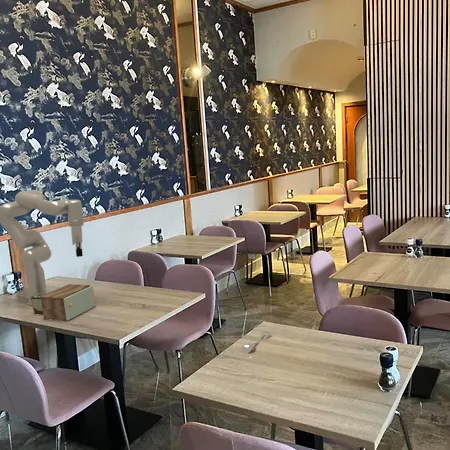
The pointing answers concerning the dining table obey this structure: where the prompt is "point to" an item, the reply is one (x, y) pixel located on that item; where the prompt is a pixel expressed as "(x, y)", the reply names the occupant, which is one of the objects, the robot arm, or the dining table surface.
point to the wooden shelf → (58, 301)
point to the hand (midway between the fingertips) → (79, 256)
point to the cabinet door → (79, 302)
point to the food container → (37, 303)
